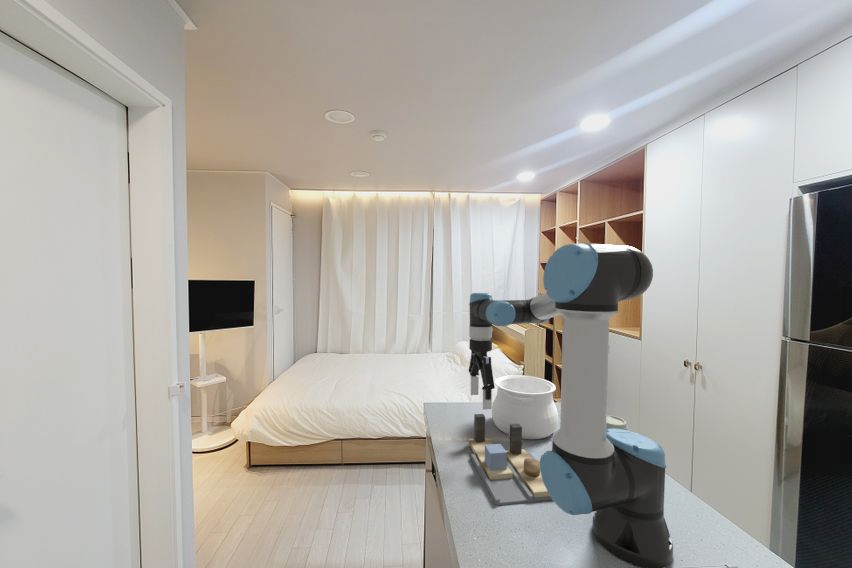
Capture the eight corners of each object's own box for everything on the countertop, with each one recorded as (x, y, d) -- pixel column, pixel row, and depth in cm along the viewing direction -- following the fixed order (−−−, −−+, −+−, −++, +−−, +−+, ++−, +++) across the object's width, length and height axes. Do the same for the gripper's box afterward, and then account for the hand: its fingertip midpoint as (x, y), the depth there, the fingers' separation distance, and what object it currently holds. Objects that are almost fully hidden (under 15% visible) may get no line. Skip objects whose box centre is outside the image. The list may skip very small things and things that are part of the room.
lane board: (565, 498, 89) (565, 492, 89) (495, 505, 86) (496, 499, 86) (527, 454, 111) (527, 449, 111) (471, 458, 108) (471, 454, 108)
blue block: (506, 469, 98) (506, 452, 98) (490, 470, 98) (490, 453, 98) (500, 460, 103) (500, 443, 103) (484, 461, 103) (484, 444, 103)
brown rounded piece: (542, 476, 95) (543, 465, 95) (528, 477, 95) (528, 467, 94) (535, 467, 100) (535, 457, 99) (521, 468, 99) (521, 458, 99)
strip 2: (559, 495, 89) (559, 458, 89) (534, 497, 88) (534, 460, 88) (524, 453, 110) (524, 423, 110) (503, 455, 109) (503, 424, 109)
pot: (500, 409, 147) (500, 371, 147) (560, 420, 137) (561, 379, 136) (483, 434, 124) (484, 388, 124) (554, 450, 114) (555, 400, 113)
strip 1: (512, 477, 97) (513, 443, 96) (489, 479, 96) (489, 445, 95) (488, 441, 117) (488, 413, 117) (468, 443, 116) (468, 414, 116)
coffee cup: (631, 465, 105) (632, 427, 104) (601, 462, 106) (602, 424, 106) (621, 451, 113) (622, 415, 113) (593, 448, 115) (594, 413, 115)
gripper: (505, 345, 103) (505, 415, 103) (479, 332, 128) (479, 389, 128) (481, 346, 102) (481, 416, 102) (460, 333, 126) (460, 390, 127)
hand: (480, 401), depth 115 cm, fingers open, 13 cm apart
